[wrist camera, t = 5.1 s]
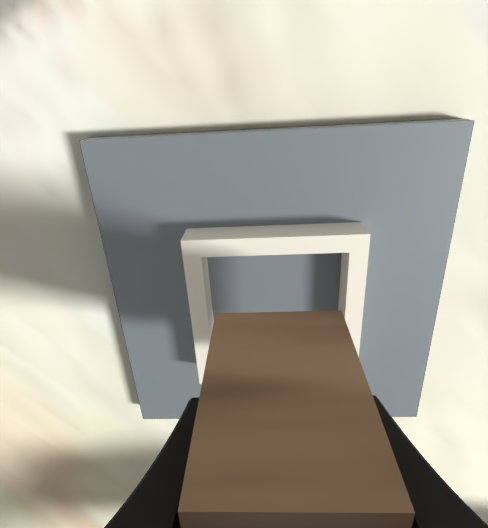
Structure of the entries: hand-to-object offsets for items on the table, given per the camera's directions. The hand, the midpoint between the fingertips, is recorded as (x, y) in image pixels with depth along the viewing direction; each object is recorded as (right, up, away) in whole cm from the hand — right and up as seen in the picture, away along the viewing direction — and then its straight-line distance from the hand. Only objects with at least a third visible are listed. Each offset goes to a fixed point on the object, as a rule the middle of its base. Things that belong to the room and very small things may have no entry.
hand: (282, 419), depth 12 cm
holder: (0, +4, +8) cm, 8 cm away
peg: (0, +1, +2) cm, 3 cm away
